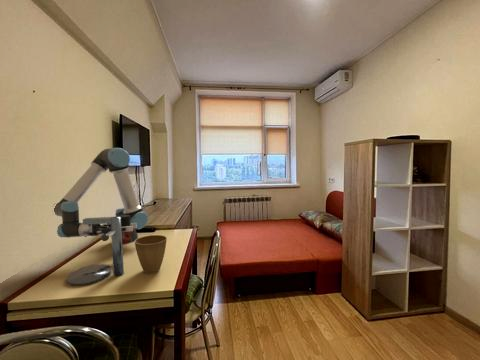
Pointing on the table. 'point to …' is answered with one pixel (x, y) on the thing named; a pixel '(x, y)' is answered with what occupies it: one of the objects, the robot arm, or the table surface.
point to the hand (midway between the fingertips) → (134, 227)
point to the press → (101, 270)
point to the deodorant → (127, 235)
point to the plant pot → (151, 252)
